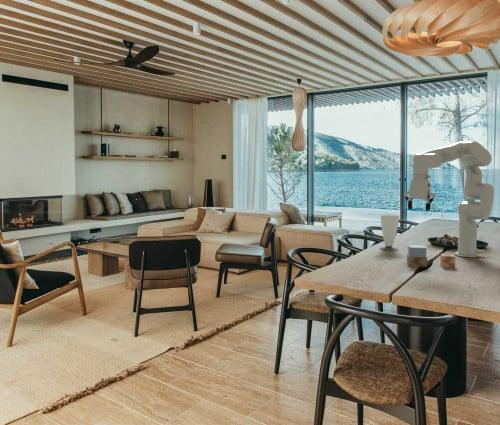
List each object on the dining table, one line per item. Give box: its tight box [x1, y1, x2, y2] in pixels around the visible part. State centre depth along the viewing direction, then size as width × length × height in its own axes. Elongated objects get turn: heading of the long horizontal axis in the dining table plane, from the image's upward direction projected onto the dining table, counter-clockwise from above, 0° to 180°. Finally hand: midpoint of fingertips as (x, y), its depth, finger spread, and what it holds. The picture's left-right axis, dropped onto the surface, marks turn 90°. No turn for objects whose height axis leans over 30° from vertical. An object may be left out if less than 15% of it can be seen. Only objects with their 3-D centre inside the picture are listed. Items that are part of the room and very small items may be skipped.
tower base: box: [406, 253, 428, 268], centre depth 237 cm, size 9×9×5 cm
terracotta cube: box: [439, 253, 456, 269], centre depth 234 cm, size 6×6×6 cm
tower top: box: [407, 244, 427, 258], centre depth 237 cm, size 8×8×5 cm
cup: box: [379, 213, 400, 252], centre depth 281 cm, size 12×12×22 cm
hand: (418, 209), depth 238 cm, fingers open, 9 cm apart
